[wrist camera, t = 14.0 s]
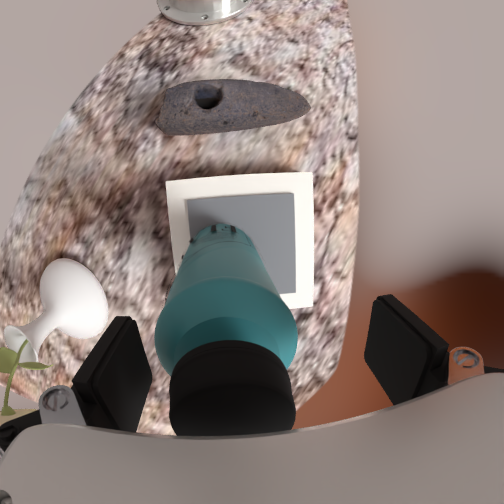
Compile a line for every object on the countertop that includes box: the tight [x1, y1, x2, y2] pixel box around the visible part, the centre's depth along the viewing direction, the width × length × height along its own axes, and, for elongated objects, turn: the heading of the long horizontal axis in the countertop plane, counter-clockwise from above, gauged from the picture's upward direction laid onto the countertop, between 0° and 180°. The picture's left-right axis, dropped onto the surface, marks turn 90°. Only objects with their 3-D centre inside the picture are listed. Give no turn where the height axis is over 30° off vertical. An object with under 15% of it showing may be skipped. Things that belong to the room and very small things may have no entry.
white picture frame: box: [166, 172, 314, 309], centre depth 28 cm, size 14×14×4 cm
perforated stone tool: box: [155, 79, 311, 135], centre depth 23 cm, size 15×5×7 cm, turn 92°
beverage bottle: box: [154, 222, 298, 436], centre depth 16 cm, size 6×7×20 cm
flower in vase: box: [0, 258, 108, 426], centre depth 19 cm, size 13×11×25 cm
